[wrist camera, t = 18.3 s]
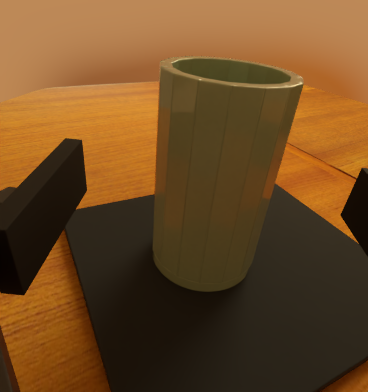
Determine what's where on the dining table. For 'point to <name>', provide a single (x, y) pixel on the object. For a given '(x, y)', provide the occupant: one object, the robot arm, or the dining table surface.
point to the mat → (224, 305)
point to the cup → (217, 164)
